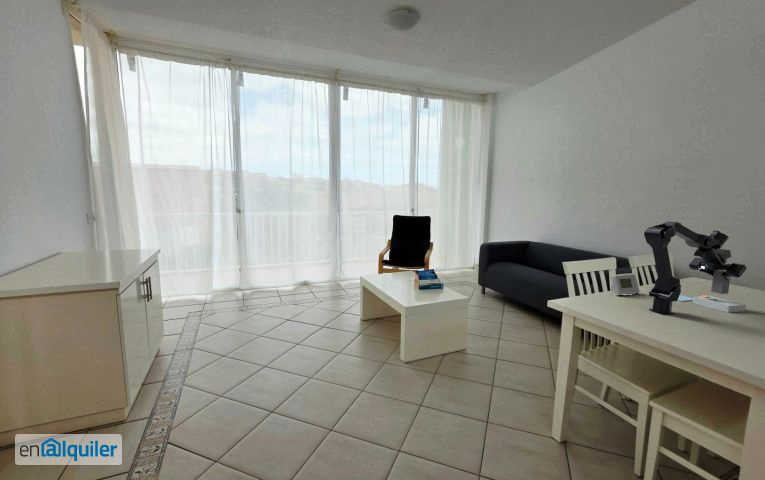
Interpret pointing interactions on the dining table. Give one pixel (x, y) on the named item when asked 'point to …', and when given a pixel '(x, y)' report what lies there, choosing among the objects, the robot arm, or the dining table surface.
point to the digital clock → (624, 284)
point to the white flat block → (719, 303)
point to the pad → (683, 298)
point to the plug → (719, 283)
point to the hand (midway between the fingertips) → (723, 278)
